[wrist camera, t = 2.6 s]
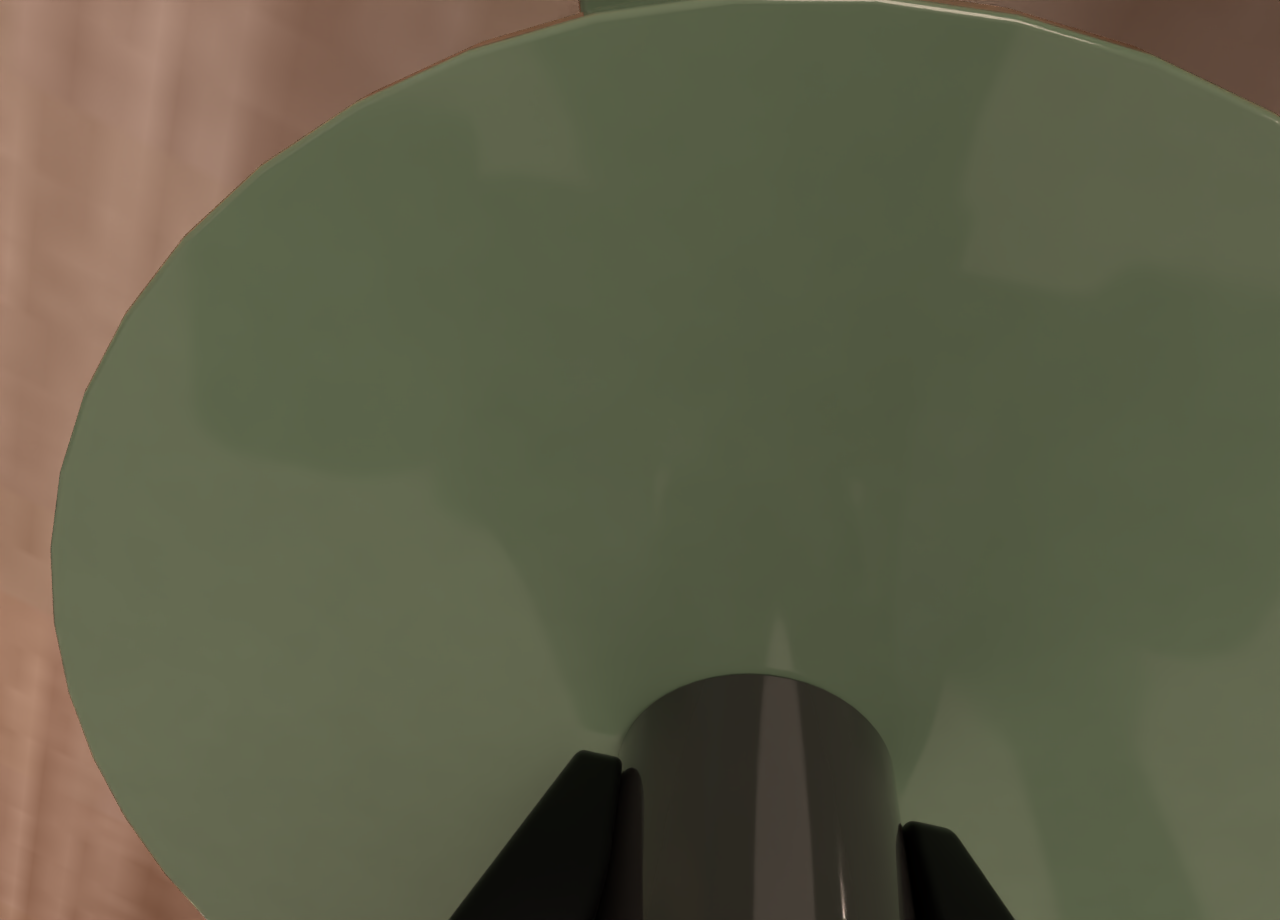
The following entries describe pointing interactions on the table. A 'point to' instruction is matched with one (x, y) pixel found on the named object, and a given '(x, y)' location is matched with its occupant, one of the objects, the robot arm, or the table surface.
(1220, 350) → the lid
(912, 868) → the robot arm
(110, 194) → the table surface
